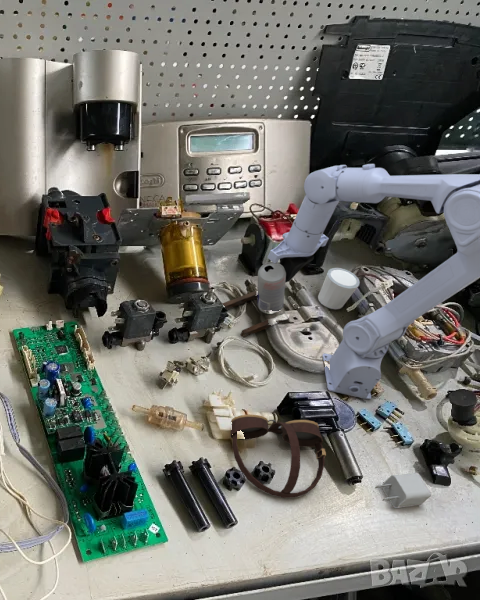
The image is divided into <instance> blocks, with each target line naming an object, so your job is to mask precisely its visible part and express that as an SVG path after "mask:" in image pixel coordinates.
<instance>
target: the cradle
mask: <svg viewBox="0 0 480 600" xmlns="http://www.w3.org/2000/svg"><path fill="white" fill-rule="evenodd" d="M255 295H256V290H254V291H251V292H248V293H245V294H244V295H241V296H239V297H236V298H233V299H230V300H228V301H225V302H222V303H221V304H223V305H224V306H225V308H226V310H225V311H228V310H230V309H233V308H235V307H238V306H241V305H243V304H245V303H249V302H250V301H254V300H257V299H258V295H257V296H255ZM283 322H284V321H279V323H278V324H280V323H283ZM268 324H269V323H268V319H266V320H263V321H261V322H259V323H256V324H254V325H251V326H248V327H247V328H244V329H242V330H241V333H240V336H241V338H243V339H244V338H247V337H249V336H252V335H254V334H256V333H259V332H262V331H263V330H266V329H269V328H270V327H272V326H271V325H268Z"/></svg>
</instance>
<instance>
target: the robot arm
mask: <svg viewBox="0 0 480 600" xmlns="http://www.w3.org/2000/svg"><path fill="white" fill-rule="evenodd" d="M303 190H304V194H305V195H304V198H303V200H302V202H301V204H300V206H299V209H298V211H297V214H296V216H295V218H294V220H293V222H292V225H291V227H290V229H289V231H288V232H284V233H283V234H282V236H281V238H283V239H282V241H280V243H279V244H278V245H277V246H276V247H274V248H273V249H270V250H269V253H268V255H267V259H268V260H270V262H273V263H278V262H279V264H281V265H282V266H283V267H284V269H285V272H286V280H285V284H286V283H288V282H291V280H292V279H293V278H294V277H295V276H296V275H297V274H298V272H300V270H302V269H303V268H304V267H305V266H306V265H307V264H309V263H310V262H312V261H313V260H314V259H315V256H314V254H315V253H316V252H317V251H318V250H319V248H320V247H322V248H323V247H325V246H327V244H328V241H329V239H330V238H329V237H328V236H326V235H325V234H324V232H325V230H326V228H327V226H328V224H329V222H330V220H331V218H332V216H333V214H334V212H335V210H336V208H337V206H338V204H339V203H340V202H349V203H351V202H352V203H367V204H378V203H380V202H382V201H383V200H384V199H385V198H386V197H389V198H390V197H391V198H398V199H399V198H401V199H409V200H421V201H429V202H430V203H431V204H432V206H433V209H434V211H435V213H436V214H437V215H438V214H442V213H443V216H444V221H445V223H446V225H447V227H448V229H449V232H450V235H451V237H452V239H453V241H454V244H455V246H456V249H457V251H456V253H454V254H453V255H451V256H450V257H449V258H448V259H446V260H444V261H443V262H442V263H441V264H439V265H438V266H437V267H435V268H434V269H432V270H431V271H430V272H428V273H427V274H425V275H424V276H423V277H422V278H420V279H418V280H417V281H416V282H415V283H413V284H412V285H410V286H409V287H408V288H406V289H405V290H404V291H402V292H401V293H399V294H398V295H397V296H395V297H394V298H393V299H391V300H390V301H388V302H387V303H386V304H384V305H383V306H382V307H379V308H378V309H376V310H375V311H373V312H370V313H368V314H366V315H364V316H362V317H359V318H358V319H354V320H350V321H349V322H347V323H346V324H345V325H344V327H343V330H342V337H343V339H342V340H341V341H340V343H339V345H338V346H337V348H336V349H335V351H334V353H332V354H330V353H326V352H323V353H322V362H323V361H325V360H326V361H329V360H330V361H329V362H330V370H329V368H328V367H327V366H326V367H324V366H323V368H324V375H325V380H326V387H327V390H328V391H330V392H333V393H338V394H342V395H347V396H351V397H356V398H361V399H364V400H371V399H372V393H371V392H372V390H373V389H374V388H375V387H376V386H377V384H378V382H379V381H380V380H381V378H382V371H381V363H382V361H383V358H384V356H385V355H386V354H387V352H388V349H389V345H390V343H392V342H393V341H396V340H399V339H402V337H403V336H404V335H405V334H406V331H407V329H408V328H409V326H410V325H412V324H414V323H415V321H416V320H418V319H419V318H421V317H422V316H423V315H425V314H427V313H428V312H430V311H431V310H433V309H435V308H436V307H437V306H439V305H440V304H442V303H443V302H445V301H446V300H448V299H449V298H451V297H453V296H454V295H456V294H457V293H458V292H460V291H462V290H463V289H465V288H466V287H468V286H470V285H471V284H473V283H474V282H476V281H477V280H479V279H480V173H479V174H475V173H474V174H472V173H471V174H470V173H468V174H465V173H463V174H459V173H453V174H452V173H451V174H449V173H448V174H409V175H408V174H407V175H404V174H403V175H390V174H389V173H388V171H387V170H386V169H385V168H383V167H376V164H375V163H367V164H363V165H362V167H348V166H347V165H346V164H340V165H333V166H330V167H329V166H328V167H325V168H321V169H318V170H314V171H313V172H311V173H309V174H308V175H306V178H305V179H304V183H303Z"/></svg>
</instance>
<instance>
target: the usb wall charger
mask: <svg viewBox="0 0 480 600" xmlns="http://www.w3.org/2000/svg"><path fill="white" fill-rule="evenodd" d="M374 489H382V491H384V494H385V495H386V497H383V498H382V500H381V501H383V502H384V501H385V502H386V501H389V502H390V504H391V506H392V507H394V508H395V509H397V508H406V507H415V506H421V505H422V504H424V503H425V502H426V501H427V500H428V499H430V497H431V496H432V492H431V490H430V489H429V487H428V486H427V483H426V482H425V481H424V480H423V477H422V476H421V474H419V472H410V473H409V472H408V473H401V474H392V475H389V477H388V478H387V479H386V480H385V481H384V482H383V483H382V484H378V485H376V486H375V488H374Z"/></svg>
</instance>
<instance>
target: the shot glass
mask: <svg viewBox="0 0 480 600" xmlns="http://www.w3.org/2000/svg"><path fill="white" fill-rule="evenodd" d="M360 283H361V282H360V279H359V277H358V276H357V275H356V274H355V273H353V272H352V271H351V270H349V269H346V268H341V267H331V268H330V269H328V271H327V273H326V276H325V278H324V280H323V283H322V285H321V287H320V290H319V293H318V295H317V299H318V301H319V303H320V304H321V305H322V306H324V307H325V308H328V309H331V310H340V309H342V308H343V307H344V306H345V304H346V303H347V302H348V300H349V299H350V298H351V297H352V295H353V294H354V293H355V291H356V290H357V289H358V287H359V286H360Z"/></svg>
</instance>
